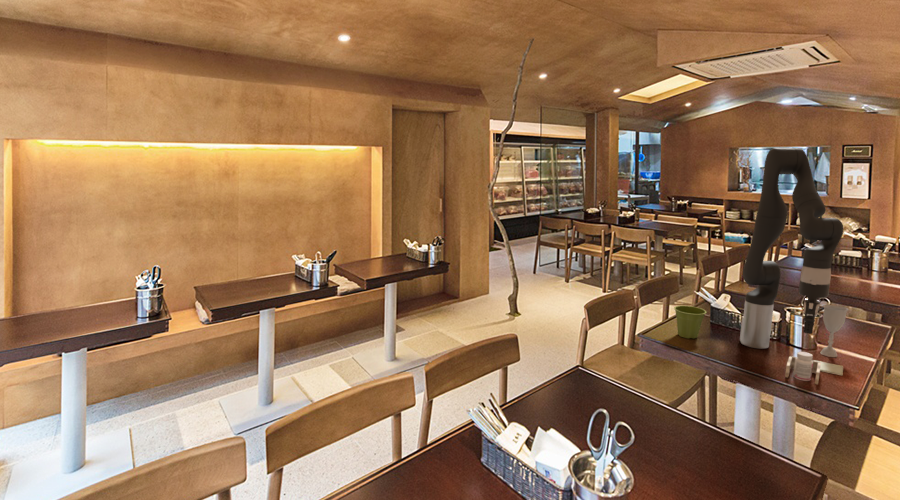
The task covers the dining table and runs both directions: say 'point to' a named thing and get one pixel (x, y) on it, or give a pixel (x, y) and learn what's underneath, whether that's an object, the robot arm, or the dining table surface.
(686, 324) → the plant pot
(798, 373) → the pill bottle
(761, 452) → the dining table surface
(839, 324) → the chalice
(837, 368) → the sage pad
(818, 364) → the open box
